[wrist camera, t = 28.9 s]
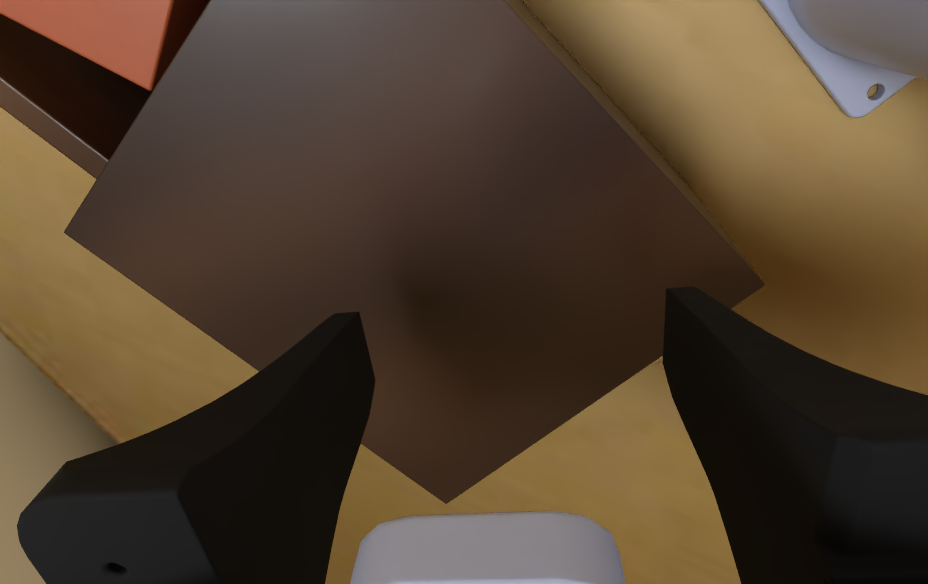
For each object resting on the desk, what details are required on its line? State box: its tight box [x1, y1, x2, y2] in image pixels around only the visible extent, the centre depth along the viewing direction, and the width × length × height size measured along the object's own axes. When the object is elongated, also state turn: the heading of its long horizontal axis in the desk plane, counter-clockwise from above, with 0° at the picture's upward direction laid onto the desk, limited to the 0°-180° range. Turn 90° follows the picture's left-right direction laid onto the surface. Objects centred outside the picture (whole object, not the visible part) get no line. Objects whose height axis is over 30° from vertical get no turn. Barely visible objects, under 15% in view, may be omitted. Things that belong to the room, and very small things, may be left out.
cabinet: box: [64, 0, 765, 504], centre depth 19 cm, size 15×13×8 cm
